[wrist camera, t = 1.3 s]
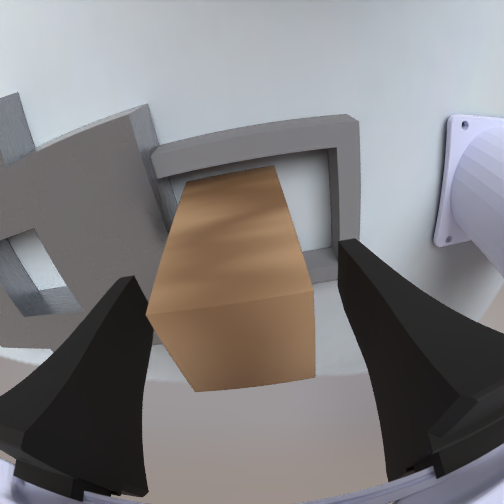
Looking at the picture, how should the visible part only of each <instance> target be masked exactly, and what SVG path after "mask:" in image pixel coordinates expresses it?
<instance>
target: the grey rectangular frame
mask: <svg viewBox="0 0 504 504" xmlns="http://www.w3.org/2000/svg"><path fill="white" fill-rule="evenodd" d="M325 148H327V149H328V163H329V179H330V198H331V227H332V247H329V248H323V249H317V250H311V251H305V252H302V254H303V257H304V260H305V263H306V267H307V270H308V273H309V277H310V280H311V284H316V283H321V282H327V281H332V280H338V241H341V240H347V239H353V238H355V239H357V240H358V241H359V236H360V199H361V173H360V136H359V121H357V120H355V119H354V118H352V117H350V116H348V115H347V114H343V115H331V116H320V117H310V118H302V119H293V120H286V121H278V122H271V123H265V124H259V125H253V126H247V127H241V128H235V129H230V130H225V131H220V132H215V133H210V134H206V135H201V136H197V137H192V138H188V139H184V140H179V141H175V142H171V143H167V144H164V145H160V146H158V148H157V149H156V150H155V151H154V153H153V154H152V155H151V159H152V162H153V165H154V169H155V172H156V175H157V178H162V177H167V176H171V175H175V174H179V173H184V172H188V171H193V170H198V169H202V168H207V167H212V166H217V165H222V164H227V163H232V162H238V161H243V160H249V159H255V158H261V157H267V156H273V155H280V154H287V153H294V152H301V151H308V150H316V149H325Z"/></svg>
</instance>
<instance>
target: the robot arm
mask: <svg viewBox="0 0 504 504" xmlns="http://www.w3.org/2000/svg"><path fill="white" fill-rule="evenodd" d="M463 121H464V126H463V127H462V122H463ZM447 237H448V238H447ZM446 238H447V239H446ZM471 240H472V241H473V242H474V243H475V245H476V246H477V247H478V248H479V249H480V250H481V251H482V252H483V254H484V255H485V256H486V257H487V258H488V259H489V261H490V262H491V263H492V264H493V265H494V267H495V268H496V269H497V270H498V272H499V273H500V274H501V275H502V276H503V278H504V118H497V117H487V116H475V115H461V114H453V115H451V116H450V117H449V119H448V122H447V140H446V154H445V165H444V175H443V184H442V191H441V199H440V205H439V212H438V218H437V223H436V229H435V234H434V243H435V244H436V246H438V247H444V246H448V245H453V244H458V243H462V242H467V241H471ZM338 289H339V293H340V296H341V300H342V303H343V307H344V310H345V313H346V315H347V318H348V320H349V323H350V325H351V327H352V330H353V332H354V335H355V337H356V340H357V342H358V345H359V347H360V350H361V352H362V355H363V357H364V360H365V363H366V366H367V369H368V372H369V375H370V380H371V384H372V388H373V392H374V396H375V401H376V405H377V410H378V415H379V420H380V426H381V431H382V438H383V445H384V453H385V462H386V473H387V477H388V483H385V484H382V485H379V486H375V487H372V488H368V489H364V490H361V491H357V492H353V493H348V494H344V495H340V496H335V497H330V498H325V499H320V500H314V501H308V502H302V503H295V504H388V503H391V502H394V501H395V502H394V503H393V504H504V334H503V333H501V332H498V331H496V330H493V329H491V328H489V327H486V326H484V325H482V324H480V323H478V322H475V321H473V320H471V319H469V318H467V317H466V316H464V315H462V314H460V313H458V312H456V311H454V310H452V309H451V308H449V307H447V306H445V305H444V304H442V303H441V302H439V301H437V300H436V299H434V298H433V297H431V296H429V295H428V294H426V293H425V292H423V291H422V290H420V289H419V288H418V287H416V286H415V285H413V284H412V283H411V282H409V281H408V280H406V279H405V278H404V277H402V276H401V275H400V274H399V273H397V272H396V271H395V270H393V269H392V268H391V267H390V266H388V265H387V264H386V263H385V262H383V261H382V260H381V259H380V258H379V257H377V256H376V255H375V254H374V253H373V252H371V251H370V250H369V249H368V248H367V247H365V246H364V245H363V244H362V243H360V242H359V241H358V240H357V239H355V238H353V239H347V240H341V241H338ZM148 304H149V303H148V301H147V299H146V297H145V295H144V293H143V291H142V290H141V288H140V286H139V284H138V282H137V280H136V278H135V276H134V275H133V276H127V277H121V278H119V279H118V280H117V281H116V282H115V283H114V284H113V285H112V286H111V288H110V289H109V290H108V291H107V292H106V293H105V295H104V296H103V297H102V298H101V299H100V301H99V302H98V303H97V304H96V305H95V306H94V308H93V309H92V310H91V311H90V313H89V314H88V315H87V316H86V317H85V319H84V320H83V321H82V322H81V323H80V324H79V325H78V327H77V328H76V329H75V330H74V331H73V332H72V334H71V335H70V336H69V337H68V338H67V339H66V340H65V342H64V343H63V344H62V345H61V346H60V347H59V348H58V349H57V350H56V351H55V352H54V353H53V354H52V355H51V356H50V357H49V358H48V359H47V360H46V361H45V362H43V363H42V364H41V365H40V366H39V367H38V368H37V369H36V370H35V371H33V372H32V373H31V374H30V375H29V376H28V377H26V378H25V379H24V380H23V381H22V382H20V383H19V384H17V385H16V386H15V387H14V388H12V389H11V390H9V391H8V392H6V393H5V394H3V395H2V396H0V450H2V451H4V452H5V453H7V454H9V455H10V456H12V457H14V458H15V459H16V464H13V463H11V462H9V461H6V460H4V459H2V458H0V504H148V503H141V502H135V501H129V500H123V499H118V498H113V497H111V494H112V495H117V496H120V495H121V494H124V495H130V496H136V497H144V496H145V495H146V494H147V493H148V492H149V491H148V486H147V480H146V473H145V466H144V457H143V444H142V401H143V392H144V385H145V380H146V374H147V368H148V363H149V358H150V352H151V347H152V342H153V333H154V328H153V327H152V325H151V323H150V322H149V320H148V318H147V316H146V311H147V308H148Z"/></svg>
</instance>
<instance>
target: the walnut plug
mask: <svg viewBox="0 0 504 504" xmlns="http://www.w3.org/2000/svg"><path fill="white" fill-rule="evenodd" d="M146 316H147V318H148V320H149V322H150V323H151V325H152V327H153V328H154V330H155V332H156V333H157V335H158V336H159V338H160V340H161V341H162V343H163V345H164V346H165V348H166V349H167V351H168V352H169V354H170V356H171V357H172V359H173V360H174V362H175V363H176V365H177V366H178V368H179V369H180V371H181V372H182V374H183V375H184V377H185V378H186V380H187V381H188V382H189V384H190V385H191V387H192V388H193V389H194V391H195V392H202V391H216V390H228V389H238V388H248V387H256V386H264V385H271V384H278V383H285V382H291V381H297V380H303V379H308V378H314V377H315V317H314V291H313V287H312V284H311V280H310V277H309V273H308V270H307V267H306V263H305V260H304V257H303V254H302V250H301V247H300V244H299V241H298V237H297V234H296V231H295V228H294V225H293V222H292V218H291V215H290V212H289V209H288V206H287V203H286V200H285V197H284V194H283V191H282V188H281V185H280V182H279V179H278V176H277V173H276V170H275V167H274V166H267V167H261V168H255V169H250V170H244V171H238V172H233V173H228V174H222V175H217V176H212V177H207V178H202V179H198V180H193V181H188V182H186V185H185V188H184V191H183V194H182V196H181V199H180V202H179V205H178V208H177V211H176V214H175V217H174V220H173V223H172V226H171V229H170V232H169V235H168V239H167V242H166V245H165V248H164V251H163V255H162V258H161V261H160V265H159V268H158V271H157V275H156V278H155V282H154V286H153V289H152V293H151V296H150V300H149V304H148V308H147V311H146Z"/></svg>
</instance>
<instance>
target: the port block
mask: <svg viewBox="0 0 504 504" xmlns="http://www.w3.org/2000/svg"><path fill="white" fill-rule="evenodd" d="M158 146H159V143H158V140H157V136H156V133H155V129H154V126H153V122H152V118H151V115H150V111H149V107H148V104H145V105H141V106H138V107H135V108H132V109H129V110H126V111H123V112H120V113H117V114H115V115H112V116H109V117H106V118H104V119H101V120H98V121H96V122H93V123H91V124H88V125H86V126H83V127H81V128H78V129H76V130H74V131H71V132H69V133H67V134H65V135H62V136H60V137H58V138H56V139H54V140H51V141H49V142H47V143H45V144H43V145H41V146H39V147H37V148H35V146H34V144H33V141H32V138H31V135H30V132H29V129H28V126H27V122H26V119H25V116H24V112H23V109H22V106H21V102H20V98H19V94H18V92H17V93H14V94H11V95H8V96H5V97H2V98H0V346H1V347H7V348H46V349H51V350H52V351H53V352H55V351H56V350H57V349H58V348H59V347H60V346H61V345H62V344H63V343H64V342H65V340H66V339H67V338H68V337H69V336H70V335H71V334H72V332H73V331H74V330H75V329H76V328H77V327H78V325H79V324H80V323H81V322H82V321H83V320H84V319H85V317H86V316H87V315H88V314H89V313H90V311H91V310H92V309H93V308H94V306H95V305H96V304H97V303H98V302H99V301H100V299H101V298H102V297H103V296H104V295H105V293H106V292H107V291H108V290H109V289H110V288H111V286H112V285H113V284H114V283H115V282H116V281H117V280H118V279H119V278H121V277H127V276H133V275H134V276H135V278H136V280H137V282H138V284H139V286H140V288H141V290H142V291H143V293H144V295H145V297H146V299H147V301H148V303H149V300H150V296H151V293H152V289H153V286H154V282H155V278H156V275H157V271H158V268H159V265H160V261H161V258H162V255H163V251H164V248H165V245H166V242H167V239H168V235H169V232H170V229H171V226H172V223H173V220H174V217H175V214H176V211H177V208H178V206H177V203H176V200H175V196H174V193H173V190H172V187H171V184H170V180H169V177H168V176H167V177H162V178H157V175H156V172H155V169H154V165H153V162H152V159H151V155H152V154H153V153H154V151H155V150H156V149H157V148H158ZM31 229H35V231H36V232H37V234H38V236H39V238H40V240H41V242H42V244H43V246H44V247H45V249H46V251H47V253H48V255H49V256H50V258H51V260H52V262H53V263H54V265H55V267H56V268H57V270H58V272H59V273H60V275H61V277H62V278H63V280H64V281H65V283H66V285H67V287H60V288H54V289H47V290H41V291H38V289H37V288H36V286H35V285H34V283H33V282H32V280H31V279H30V277H29V276H28V274H27V272H26V271H25V269H24V268H23V266H22V264H21V263H20V261H19V259H18V258H17V256H16V254H15V253H14V251H13V249H12V247H11V245H10V244H9V242H8V240H7V238H8V237H10V236H13V235H16V234H19V233H22V232H25V231H28V230H31ZM156 344H163V343H162V341H161V340H160V338H159V336H158V335H157V333H156V332H155V330H154V333H153V342H152V345H156Z"/></svg>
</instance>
